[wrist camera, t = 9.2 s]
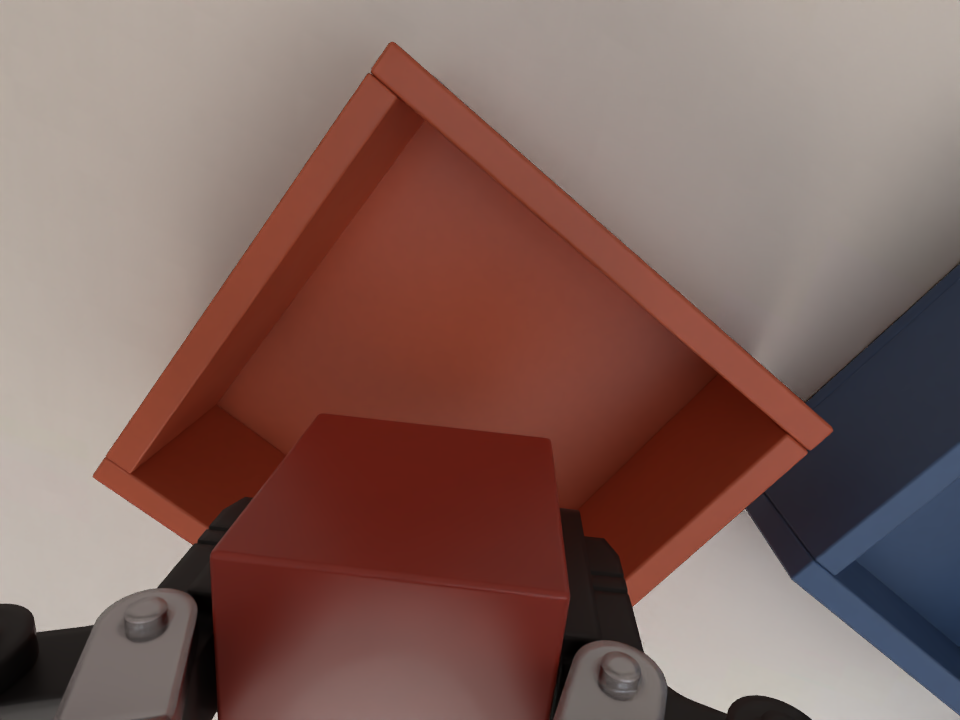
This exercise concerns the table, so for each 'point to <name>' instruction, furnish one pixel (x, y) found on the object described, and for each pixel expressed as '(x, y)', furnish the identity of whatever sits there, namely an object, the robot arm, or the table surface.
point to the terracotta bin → (462, 340)
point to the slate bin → (885, 495)
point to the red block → (394, 579)
